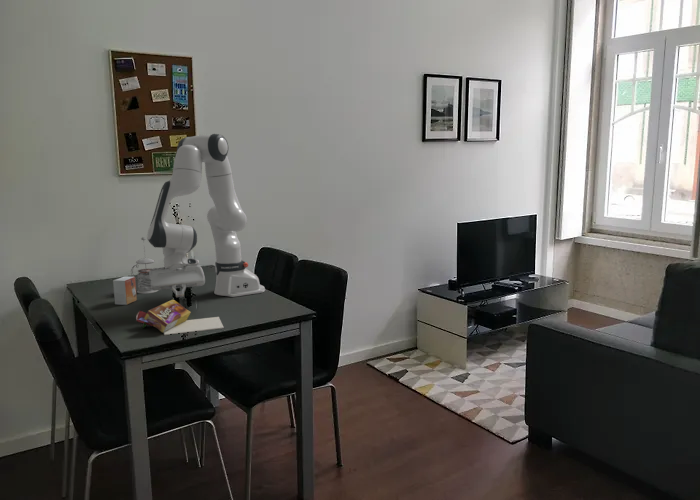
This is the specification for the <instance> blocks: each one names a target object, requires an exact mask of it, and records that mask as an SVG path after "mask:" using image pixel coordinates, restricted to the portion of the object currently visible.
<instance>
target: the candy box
mask: <svg viewBox="0 0 700 500" xmlns="http://www.w3.org/2000/svg"><path fill="white" fill-rule="evenodd" d="M150 309H151V310H150ZM150 309H149V310H148V309H147V311H146V312H147V314H146V316H145V318H144V319H145V320H146V321H148V322H149V323H150V324H152V325H153V326H154V327H153V328H156V329H158V330H159V332H160V333H163V334H164V332H165V331H167V330H169V329H171V328H173V327H175V326H177V325H179V324H181V323H183V322H185V321H187V320H189V317H190V315H191V311H190V310H188V309H187V308H185V306H183V305H182V304H181V303H179V302H178V301H176V300H174V299H171V300H169V301H166V302H164V303H162V304H160V305H157V306H155V307H152V308H150Z"/></svg>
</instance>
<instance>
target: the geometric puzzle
mask: <svg viewBox="0 0 700 500" xmlns="http://www.w3.org/2000/svg"><path fill="white" fill-rule="evenodd" d="M151 309H152V308H150V309H149V310H151ZM147 312H148V311H142V310H139V311H138V312H137V313H136V317H135V319H136V320H135V321H136V322H137V323H139V325H140V326H141V325H142V324H143V326H142V327H141V330H142V329H145V328H147V325H148V326H149V327H152V326H153V325H152V324H150V323H149V322H148V321H146V320H145V319H144V318H145V316H146V314H147ZM152 328H155V327H154V326H153V327H152Z"/></svg>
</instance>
